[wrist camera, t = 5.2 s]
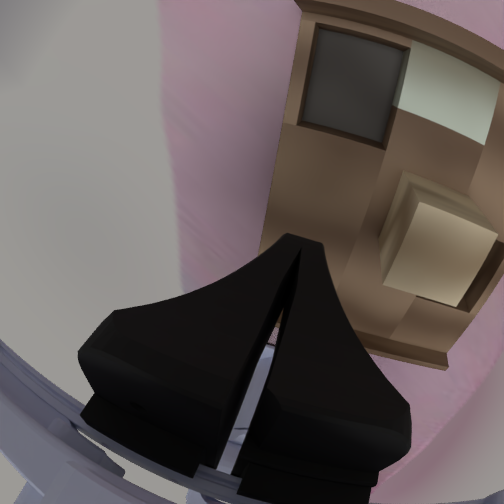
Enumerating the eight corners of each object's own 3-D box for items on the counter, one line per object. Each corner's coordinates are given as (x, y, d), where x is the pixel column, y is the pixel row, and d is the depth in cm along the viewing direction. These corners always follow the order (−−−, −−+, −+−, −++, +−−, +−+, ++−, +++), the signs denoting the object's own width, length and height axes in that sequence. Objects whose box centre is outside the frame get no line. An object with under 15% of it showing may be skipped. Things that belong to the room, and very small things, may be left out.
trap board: (439, 335, 22) (447, 385, 18) (258, 283, 25) (235, 331, 21) (550, 95, 10) (597, 109, 5) (313, -8, 12) (298, -39, 8)
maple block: (440, 259, 16) (456, 306, 13) (378, 238, 17) (382, 284, 14) (469, 196, 14) (498, 234, 10) (403, 170, 15) (419, 201, 11)
